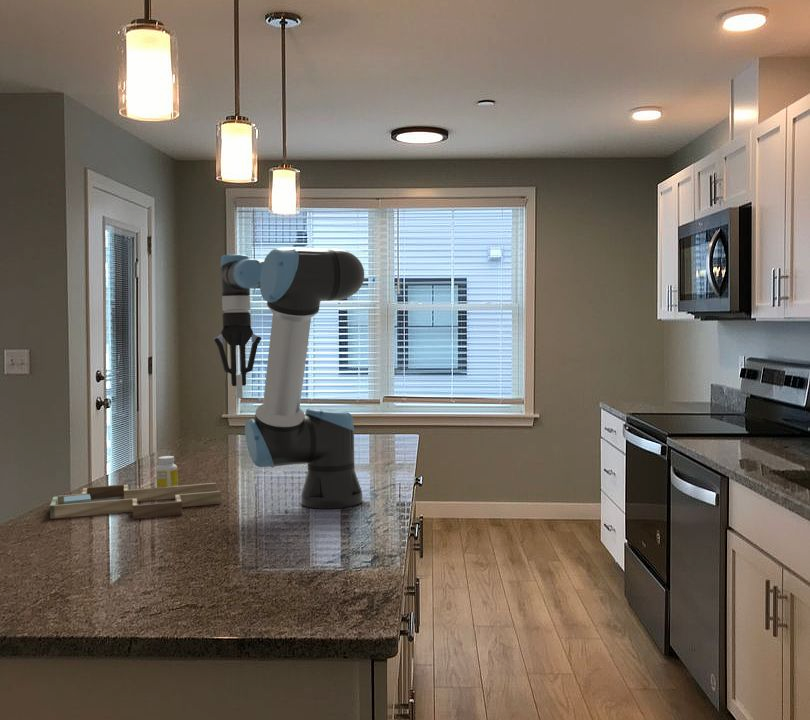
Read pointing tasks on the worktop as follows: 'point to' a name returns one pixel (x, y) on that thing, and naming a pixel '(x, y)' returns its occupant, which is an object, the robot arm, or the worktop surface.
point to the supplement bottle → (167, 472)
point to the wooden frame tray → (136, 500)
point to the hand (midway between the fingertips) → (239, 397)
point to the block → (77, 499)
